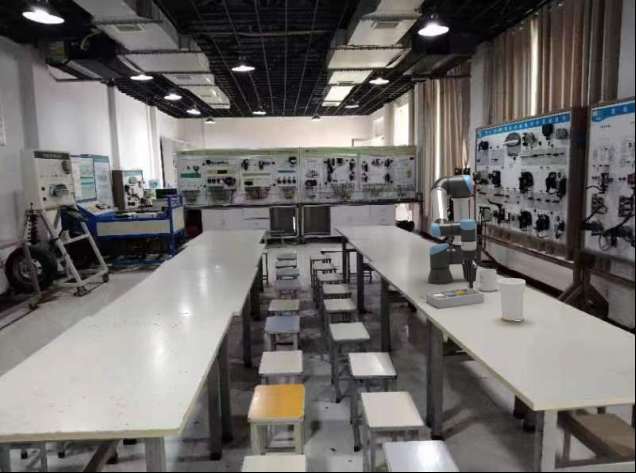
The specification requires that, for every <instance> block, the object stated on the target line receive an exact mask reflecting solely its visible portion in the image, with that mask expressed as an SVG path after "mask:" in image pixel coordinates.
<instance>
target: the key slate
mask: <svg viewBox="0 0 636 473" xmlns="http://www.w3.org/2000/svg"><path fill="white" fill-rule="evenodd" d="M443 294H444V295H446V296H448V297H455V294H454V293H452V292H448V293H443Z"/></svg>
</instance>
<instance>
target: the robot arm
mask: <svg viewBox="0 0 636 473" xmlns="http://www.w3.org/2000/svg"><path fill="white" fill-rule="evenodd" d="M473 184H474V183H473V180H472V177H471V176H470V174H469V175H468V174H458V175H449V176H448V175H447V176H441V177H439V178H437V179H436V180H434V182H433V184H432V185H431V186H430V190H429V196H430V199H431V201H432V203H431V205H432V214H433V222H432V223H431V224H430V234H431V237H433V238H434V237H435V238H442V237H444V238H445V237H454V241H452V243H451V244H452V245H450V244H449V243H447V242H446V243H444V242H443V243H438V244H433V245H432V246H430V247H429V254H428V255H429V273H428V277H427V283H428V284H431V285H432V284H433V285H446V284H451V283H453V282H454V277H453V275H452V272H451V269H450V268H451V265H455V266H456V265H461V267H462V274H463V279H464V280H465V281H466V288H467V293H469V294H473V290H474V282H476V280H477V272H478V271H477V270H478V267H479V265H478V263H476V260H475V258H476V257H477V255H478V254H477V238H476V237H477V234H476V232H477V231H476V230H477V229H476V228H477V225H476V220H475V219H473V218H472V219H471V218H470V216H469V215H470V214H469V212H470V211H469V210H470V209H469V200H470V199H471V197H472V195H474V186H473ZM447 196H449V197H450V199H451V200H452V201H453V222H452V221H451V222H449V219H448V218H449V217H448V212H447V200H446V198H447Z"/></svg>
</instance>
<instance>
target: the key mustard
mask: <svg viewBox="0 0 636 473" xmlns="http://www.w3.org/2000/svg"><path fill="white" fill-rule="evenodd" d="M454 293H455V294H457V295H460V296H463V295H466V292H463V291H456V292H454Z"/></svg>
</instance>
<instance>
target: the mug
mask: <svg viewBox="0 0 636 473" xmlns="http://www.w3.org/2000/svg"><path fill="white" fill-rule="evenodd" d="M476 276H477V282H478V283H479V289H480V290H481V291H482V292H487V293H488V292H495V291H496V290H497V289H498V287H497V286H498V280H497V270H496V269H493V268H483V269H479V271H477V272H476Z"/></svg>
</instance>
